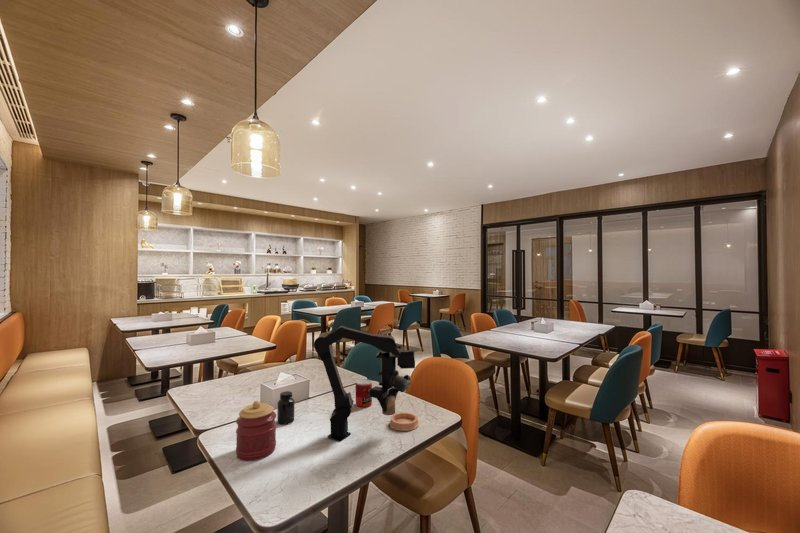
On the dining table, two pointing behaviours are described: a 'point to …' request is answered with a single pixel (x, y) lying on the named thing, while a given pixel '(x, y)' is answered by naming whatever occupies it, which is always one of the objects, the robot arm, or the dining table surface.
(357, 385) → the canned food
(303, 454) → the dining table surface
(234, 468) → the dining table surface
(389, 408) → the bead
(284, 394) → the supplement bottle
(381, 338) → the robot arm
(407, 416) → the dish
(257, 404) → the canister
